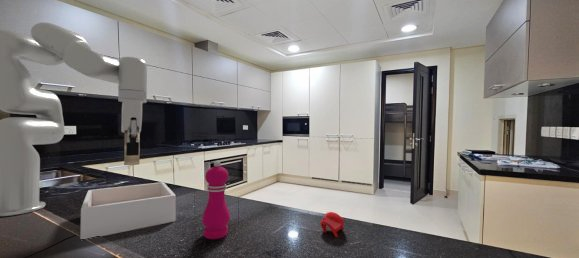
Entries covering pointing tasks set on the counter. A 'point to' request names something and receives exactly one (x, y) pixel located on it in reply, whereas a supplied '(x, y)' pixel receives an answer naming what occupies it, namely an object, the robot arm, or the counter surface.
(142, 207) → the box
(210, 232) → the pepper mill
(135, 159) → the peg
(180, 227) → the counter surface
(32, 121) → the robot arm
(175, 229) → the counter surface
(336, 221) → the red toy chair
